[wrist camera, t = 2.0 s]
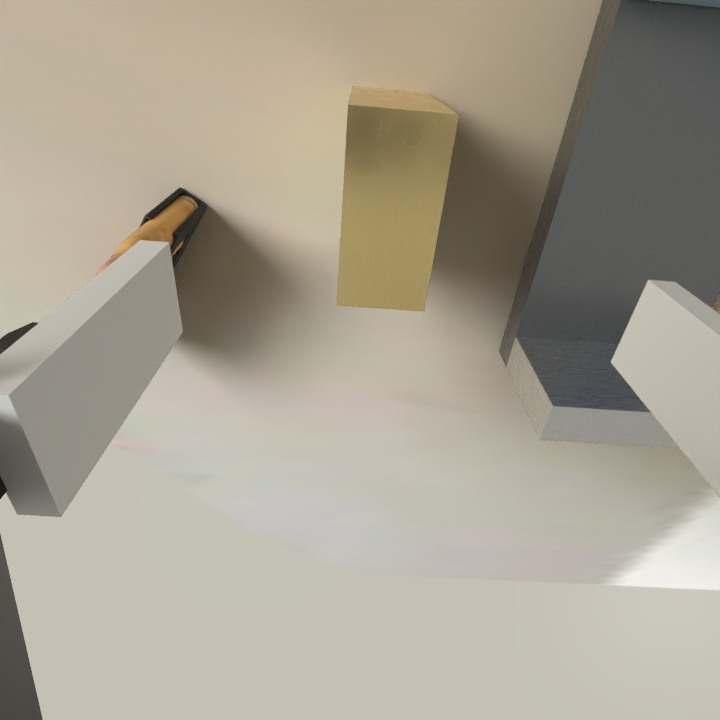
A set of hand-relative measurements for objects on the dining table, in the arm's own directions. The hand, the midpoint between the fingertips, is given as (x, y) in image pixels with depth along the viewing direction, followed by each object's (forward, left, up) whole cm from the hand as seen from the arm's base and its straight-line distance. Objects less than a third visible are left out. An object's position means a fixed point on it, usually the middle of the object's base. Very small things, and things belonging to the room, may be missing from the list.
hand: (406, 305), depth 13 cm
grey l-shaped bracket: (0, +16, -17) cm, 23 cm away
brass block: (0, 0, -17) cm, 17 cm away
